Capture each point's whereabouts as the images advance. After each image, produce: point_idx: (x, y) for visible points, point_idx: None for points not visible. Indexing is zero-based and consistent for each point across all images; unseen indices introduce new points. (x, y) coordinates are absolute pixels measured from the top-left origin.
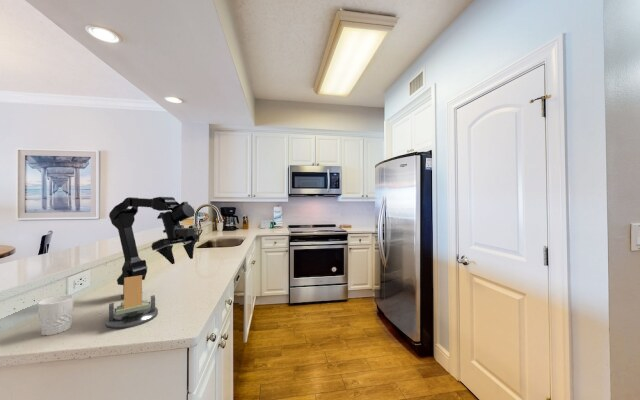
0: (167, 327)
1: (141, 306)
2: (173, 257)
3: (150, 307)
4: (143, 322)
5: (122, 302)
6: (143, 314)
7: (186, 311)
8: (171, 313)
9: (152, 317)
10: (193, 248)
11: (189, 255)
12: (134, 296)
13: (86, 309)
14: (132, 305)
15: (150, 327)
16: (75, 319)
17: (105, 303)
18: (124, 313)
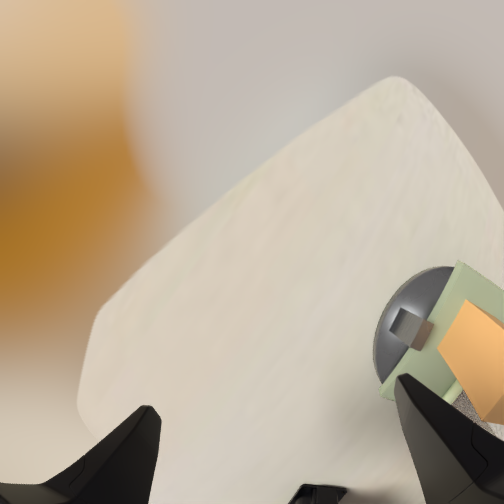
0: (421, 170)
1: (479, 273)
2: (429, 416)
3: (384, 358)
4: (446, 266)
5: (462, 389)
6: (429, 313)
7: (326, 223)
8: (364, 259)
9: (421, 273)
10: (71, 467)
11: (149, 450)
12: (497, 321)
13: (416, 483)
14: (485, 311)
15: (445, 219)
16: None
17: (377, 494)
18: None
